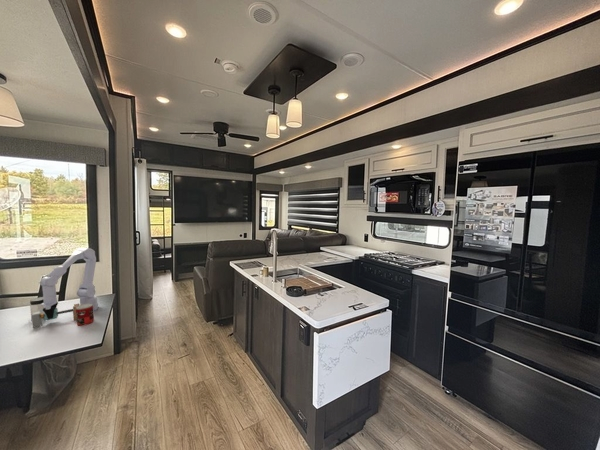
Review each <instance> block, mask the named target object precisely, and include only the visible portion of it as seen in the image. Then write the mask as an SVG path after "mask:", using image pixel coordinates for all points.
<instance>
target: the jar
mask: <svg viewBox="0 0 600 450" xmlns="http://www.w3.org/2000/svg"><path fill="white" fill-rule="evenodd" d="M42 303H44V300H43V296H38V297H36V298H32V299H30V300H29V308H30V319H31V320H32V314H33V313H34V312H38V311H41V314H45V312H44V311H43V308H45V306H44V305H41V304H42Z"/></svg>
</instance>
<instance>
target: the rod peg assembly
mask: <svg viewBox="0 0 600 450" xmlns="http://www.w3.org/2000/svg"><path fill="white" fill-rule="evenodd" d="M77 306H80V302H79V303H74V304H73V307H72V308H70V309H65V310H60V311H59V310H58V312H56V313H57V314H58V315H61V314H67V313H72V314H73V315H72V316H73V321H77V318H76V307H77ZM43 318H44V319H45V314H41V311H38V312H34V313H33V314H32V319H31V320H32V328H33V329H35V328H39V327H41V326H42V324H43V320H42V319H43Z"/></svg>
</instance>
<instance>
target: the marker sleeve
mask: <svg viewBox="0 0 600 450" xmlns="http://www.w3.org/2000/svg"><path fill="white" fill-rule="evenodd" d="M56 312H59V309H58V307H56V308H55V310H54V315H53V318H51V319H48V318H47V316H46V313H45V317H44V321H45V322H46V321H51V320H56V319H57V318H58V317H59V314H57V313H56Z"/></svg>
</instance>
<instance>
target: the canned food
mask: <svg viewBox="0 0 600 450" xmlns="http://www.w3.org/2000/svg"><path fill="white" fill-rule="evenodd" d="M79 305H80V304H79ZM94 317H95V316H94V310H93V304H83V305H80V306H77V307H76V318H77V320H76V325H77V326H79V327H80V326H87V325H90V324H92V323H93V322H94V321H95V320H94Z"/></svg>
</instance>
